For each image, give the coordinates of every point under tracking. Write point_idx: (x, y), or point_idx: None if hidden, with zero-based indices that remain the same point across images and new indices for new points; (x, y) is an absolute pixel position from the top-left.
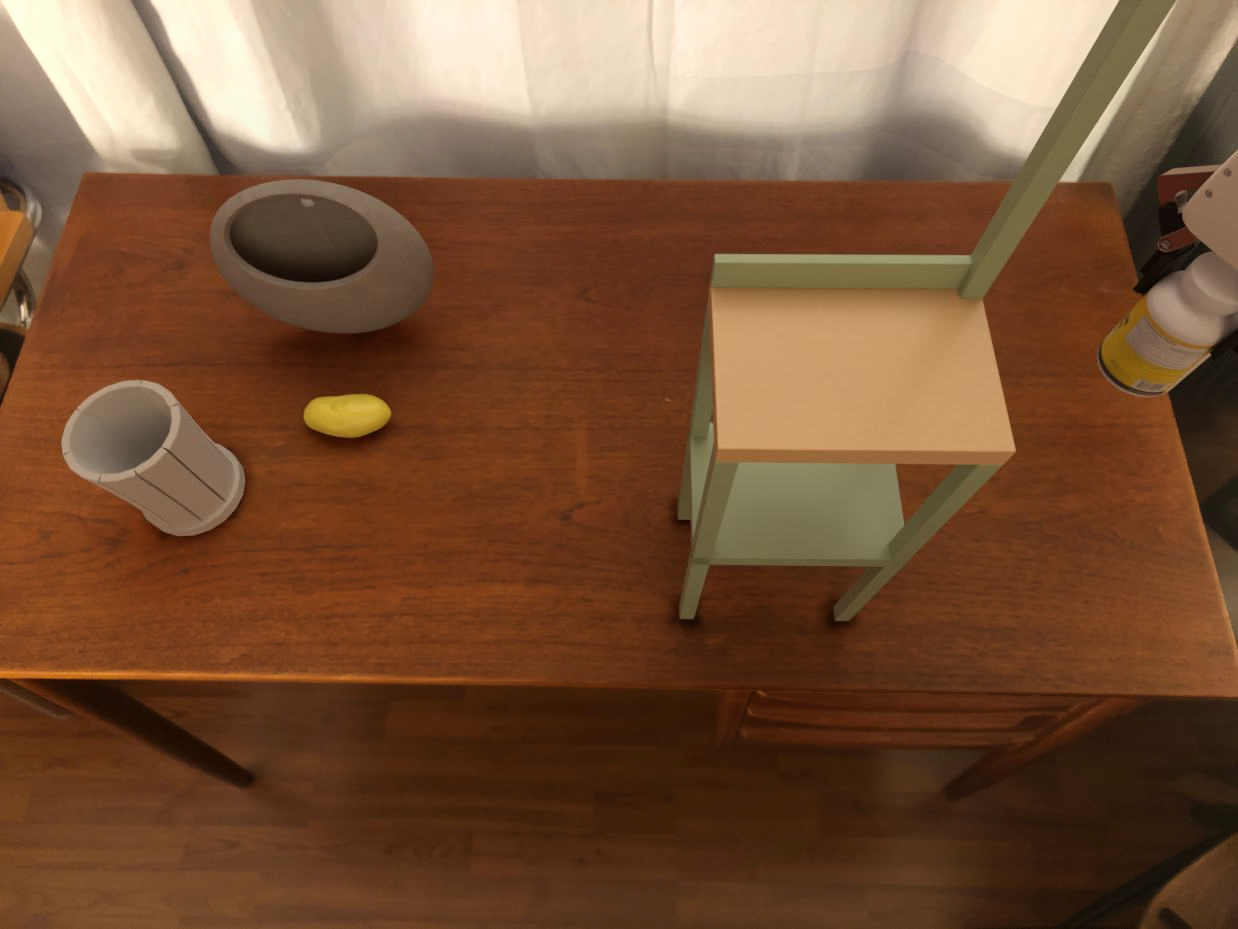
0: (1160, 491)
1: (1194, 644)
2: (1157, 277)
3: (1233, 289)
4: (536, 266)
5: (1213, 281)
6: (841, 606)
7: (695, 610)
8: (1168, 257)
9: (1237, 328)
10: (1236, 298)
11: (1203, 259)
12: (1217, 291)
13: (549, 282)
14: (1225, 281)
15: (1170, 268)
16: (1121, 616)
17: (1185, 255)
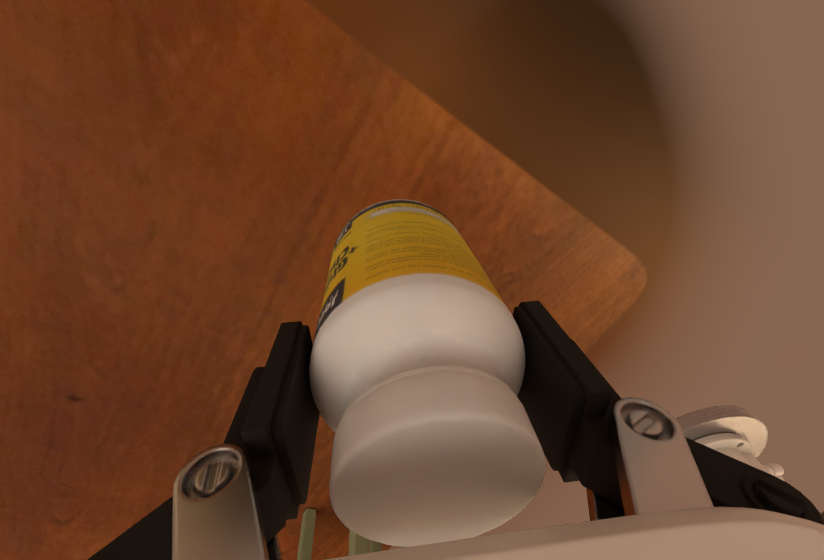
0: (510, 198)
1: (618, 281)
2: (313, 436)
3: (485, 499)
4: (14, 540)
5: (431, 522)
6: None
7: (381, 545)
8: (288, 510)
9: (545, 455)
10: (511, 510)
11: (351, 506)
12: (462, 529)
13: (39, 536)
14: (451, 501)
15: (304, 413)
16: (560, 316)
17: (292, 425)
